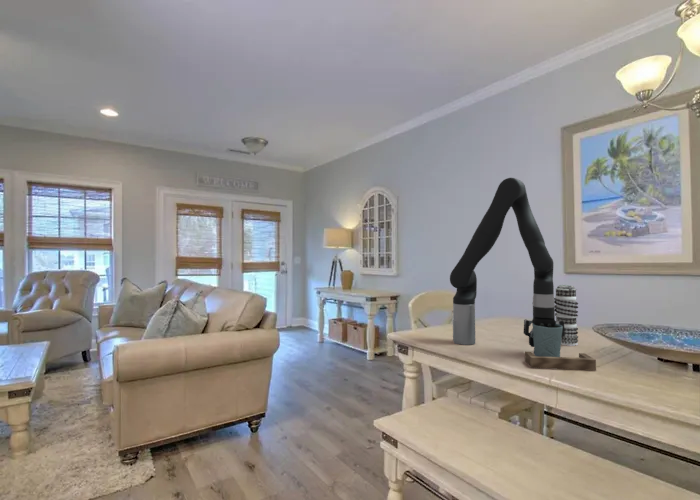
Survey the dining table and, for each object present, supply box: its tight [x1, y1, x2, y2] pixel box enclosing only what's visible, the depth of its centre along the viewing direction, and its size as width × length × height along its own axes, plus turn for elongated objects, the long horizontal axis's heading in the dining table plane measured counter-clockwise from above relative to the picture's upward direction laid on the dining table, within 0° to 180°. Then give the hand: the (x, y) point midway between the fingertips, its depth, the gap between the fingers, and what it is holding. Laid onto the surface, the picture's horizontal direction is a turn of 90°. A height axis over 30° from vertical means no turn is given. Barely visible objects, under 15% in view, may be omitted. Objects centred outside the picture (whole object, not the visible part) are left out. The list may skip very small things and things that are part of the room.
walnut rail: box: [524, 351, 597, 371], centre depth 129 cm, size 20×8×4 cm, turn 80°
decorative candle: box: [554, 284, 579, 347], centre depth 160 cm, size 9×9×25 cm
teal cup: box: [531, 323, 563, 357], centre depth 140 cm, size 10×10×12 cm
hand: (544, 346), depth 144 cm, fingers open, 8 cm apart
